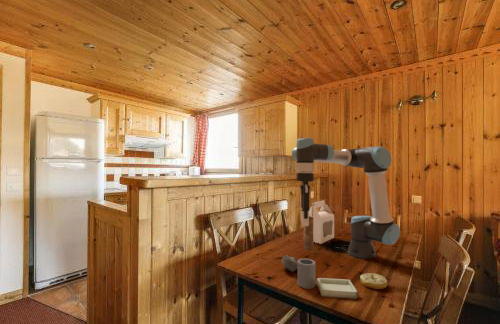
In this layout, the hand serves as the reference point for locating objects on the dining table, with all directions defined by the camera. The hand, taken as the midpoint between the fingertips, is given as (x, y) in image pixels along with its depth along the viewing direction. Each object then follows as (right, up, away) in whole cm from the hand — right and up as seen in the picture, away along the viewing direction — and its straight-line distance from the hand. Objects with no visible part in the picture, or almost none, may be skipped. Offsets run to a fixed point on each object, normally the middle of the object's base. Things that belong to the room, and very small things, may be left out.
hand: (305, 224), depth 109 cm
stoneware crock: (0, -27, -1) cm, 27 cm away
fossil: (-4, -27, +14) cm, 31 cm away
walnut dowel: (+1, -11, 0) cm, 11 cm away
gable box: (+27, -29, +71) cm, 81 cm away
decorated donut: (+31, -27, 0) cm, 41 cm away
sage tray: (+12, -26, -6) cm, 30 cm away
